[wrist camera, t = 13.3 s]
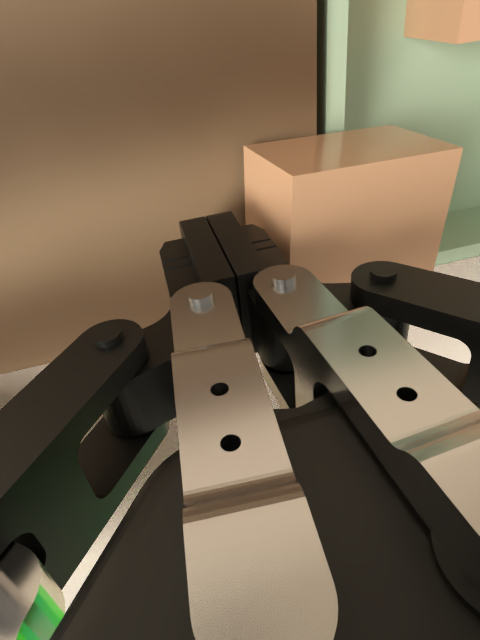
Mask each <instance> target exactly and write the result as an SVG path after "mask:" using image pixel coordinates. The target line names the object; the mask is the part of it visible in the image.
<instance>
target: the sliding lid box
mask: <svg viewBox="0 0 480 640" xmlns="http://www.w3.org/2000/svg"><path fill="white" fill-rule="evenodd" d="M314 135H317V0H0V374H4V373H8V372H12V371H16V370H21V369H25V368H29V367H34V366H38V365H42V364H47V363H51V362H52V361H53V360H54V359H55V358H56V357H57V356H59V355H60V354H61V353H62V352H63V351H64V350H65V349H66V348H67V347H68V346H69V345H70V344H71V343H72V342H74V341H75V340H76V339H77V338H78V337H79V336H80V335H81V334H82V333H83V332H84V331H86V330H87V329H89V328H90V327H92V326H94V325H96V324H98V323H101V322H104V321H108V320H113V319H127V320H131V321H134V322H136V323H137V324H139V325H140V326H141V328H142V329H143V328H145V327H148V326H150V325H152V324H154V323H156V322H157V321H159V320H160V319H161V318H163V317H164V316H165V315H166V314H167V313H168V311H169V310H170V297H169V292H168V288H167V284H166V279H165V275H164V271H163V266H162V262H161V258H160V253H159V251H160V249H161V248H162V246H163V244H164V242H167V241H172V240H177V239H181V238H182V237H181V232H180V227H179V221H183V220H188V219H193V218H198V217H203V216H205V217H206V216H208V215H213V214H218V213H223V212H228V211H231V212H232V213H233V215H234V216H235V218H236V219H237V221H238V222H239V224H240V225H241V226H244V225H246V221H245V184H244V147H243V145H250V144H258V143H265V142H272V141H279V140H286V139H293V138H300V137H307V136H314Z"/></svg>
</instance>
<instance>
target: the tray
mask: <svg viewBox="0 0 480 640" xmlns="http://www.w3.org/2000/svg"><path fill="white" fill-rule="evenodd" d="M406 5H407V0H317V135H321V134H328V133H335V132H342V131H349V130H356V129H363V128H370V127H377V126H385V125H395V126H398V127H401V128H404V129H407V130H410V131H414V132H417V133H420V134H423V135H426V136H429V137H432V138H435V139H438V140H442V141H445V142H448V143H451V144H454V145H457V146H460V147H463V152H462V156H461V160H460V164H459V168H458V172H457V176H456V181H455V185H454V189H453V193H452V197H451V201H450V205H449V209H448V213H447V217H446V221H445V225H444V229H443V233H442V237H441V242H440V246H439V250H438V254H437V258H436V262H435V266H436V265H441V264H445V263H450V262H454V261H458V260H463V259H467V258H471V257H476V256H480V40H479V41H473V42H467V43H462V44H452V43H445V42H438V41H431V40H423V39H416V38H409V37H404V28H405V16H406Z"/></svg>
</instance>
